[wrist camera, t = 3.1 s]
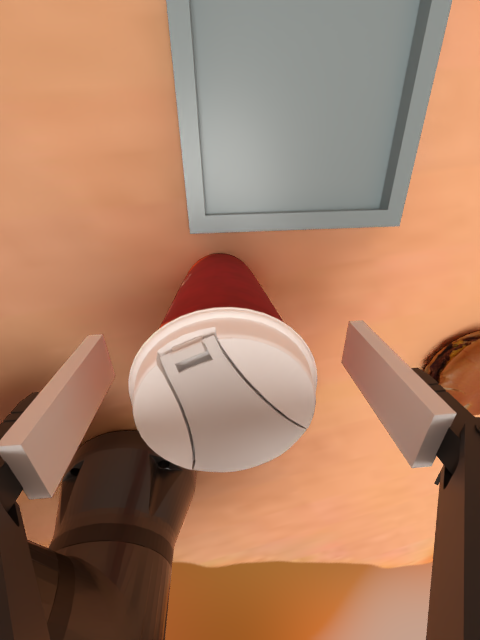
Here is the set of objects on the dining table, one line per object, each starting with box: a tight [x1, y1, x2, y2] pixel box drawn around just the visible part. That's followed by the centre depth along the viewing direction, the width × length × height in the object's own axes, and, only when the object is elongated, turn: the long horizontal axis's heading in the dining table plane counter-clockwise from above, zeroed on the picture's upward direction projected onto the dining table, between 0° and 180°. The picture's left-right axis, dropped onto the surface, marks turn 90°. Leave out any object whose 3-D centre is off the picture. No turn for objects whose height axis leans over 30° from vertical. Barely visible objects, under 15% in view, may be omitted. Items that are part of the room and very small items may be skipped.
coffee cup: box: [128, 254, 317, 472], centre depth 17 cm, size 8×8×15 cm
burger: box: [424, 331, 480, 415], centre depth 29 cm, size 10×9×5 cm
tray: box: [166, 0, 452, 234], centre depth 18 cm, size 16×16×2 cm
